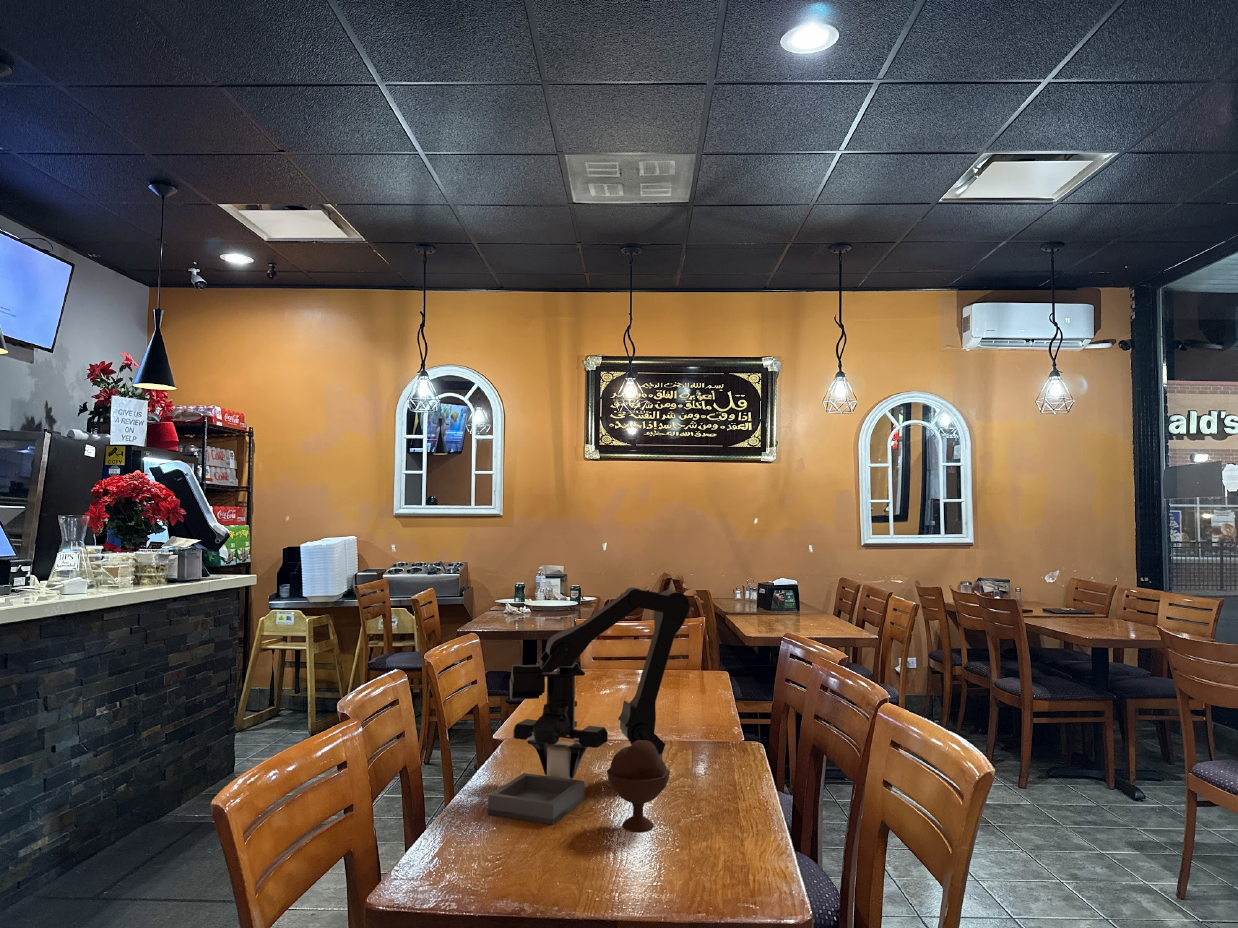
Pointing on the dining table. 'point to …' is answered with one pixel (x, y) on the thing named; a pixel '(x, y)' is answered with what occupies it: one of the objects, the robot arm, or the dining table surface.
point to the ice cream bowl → (638, 780)
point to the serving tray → (536, 798)
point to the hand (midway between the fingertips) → (559, 776)
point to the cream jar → (559, 759)
